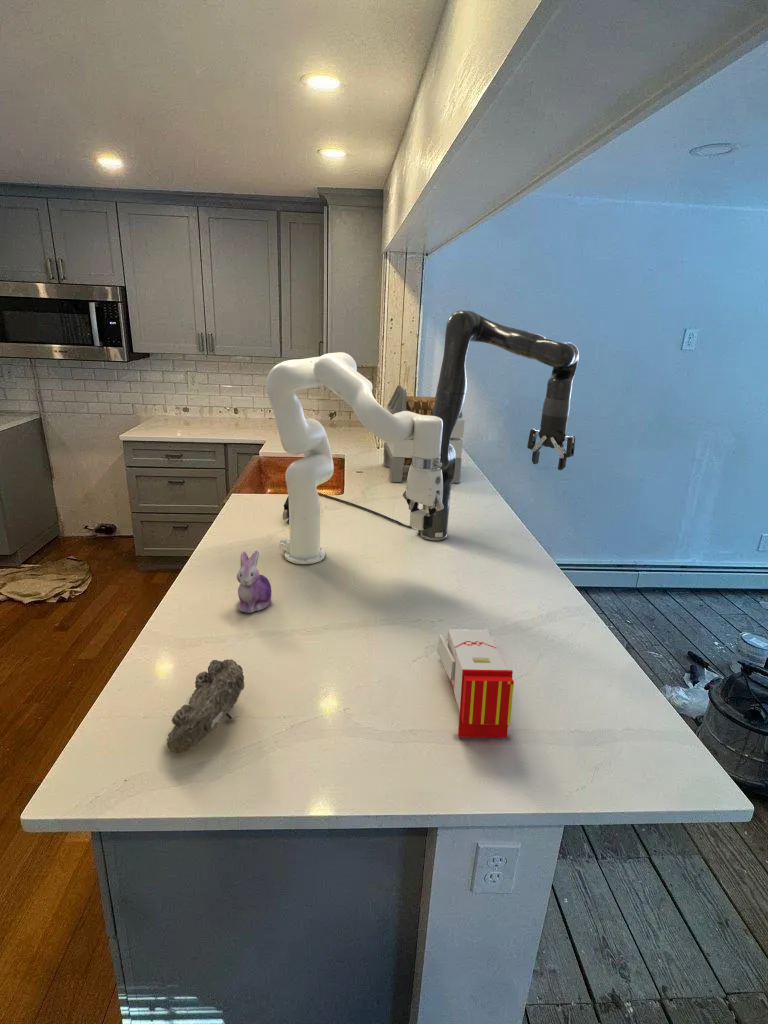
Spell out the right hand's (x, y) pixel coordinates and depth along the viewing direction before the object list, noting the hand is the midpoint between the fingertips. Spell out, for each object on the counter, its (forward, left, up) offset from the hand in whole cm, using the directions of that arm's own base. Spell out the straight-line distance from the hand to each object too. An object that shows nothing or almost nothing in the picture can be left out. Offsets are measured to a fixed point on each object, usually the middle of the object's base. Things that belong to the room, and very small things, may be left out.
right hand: (547, 466), depth 172 cm
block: (-21, -38, -14) cm, 45 cm away
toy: (+14, -73, -32) cm, 81 cm away
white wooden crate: (-83, +62, -32) cm, 108 cm away
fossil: (-21, -111, -32) cm, 117 cm away
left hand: (-21, -38, -14) cm, 45 cm away
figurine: (-47, -76, -32) cm, 95 cm away
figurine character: (-84, -23, -32) cm, 92 cm away
